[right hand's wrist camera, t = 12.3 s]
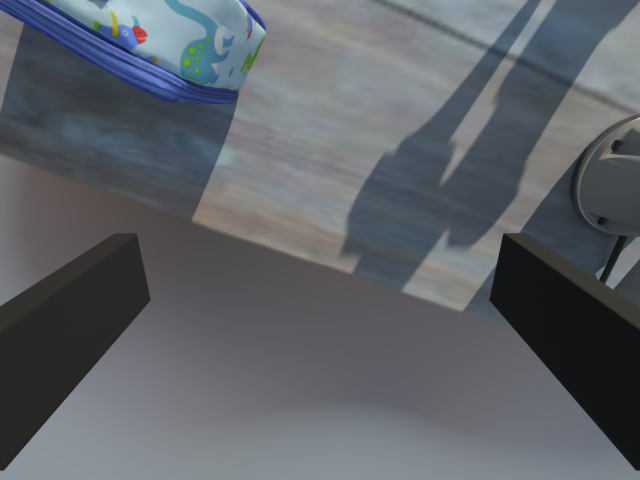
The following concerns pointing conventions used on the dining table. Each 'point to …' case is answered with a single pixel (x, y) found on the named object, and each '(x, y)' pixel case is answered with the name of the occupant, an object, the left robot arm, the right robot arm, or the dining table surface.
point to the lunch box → (156, 41)
